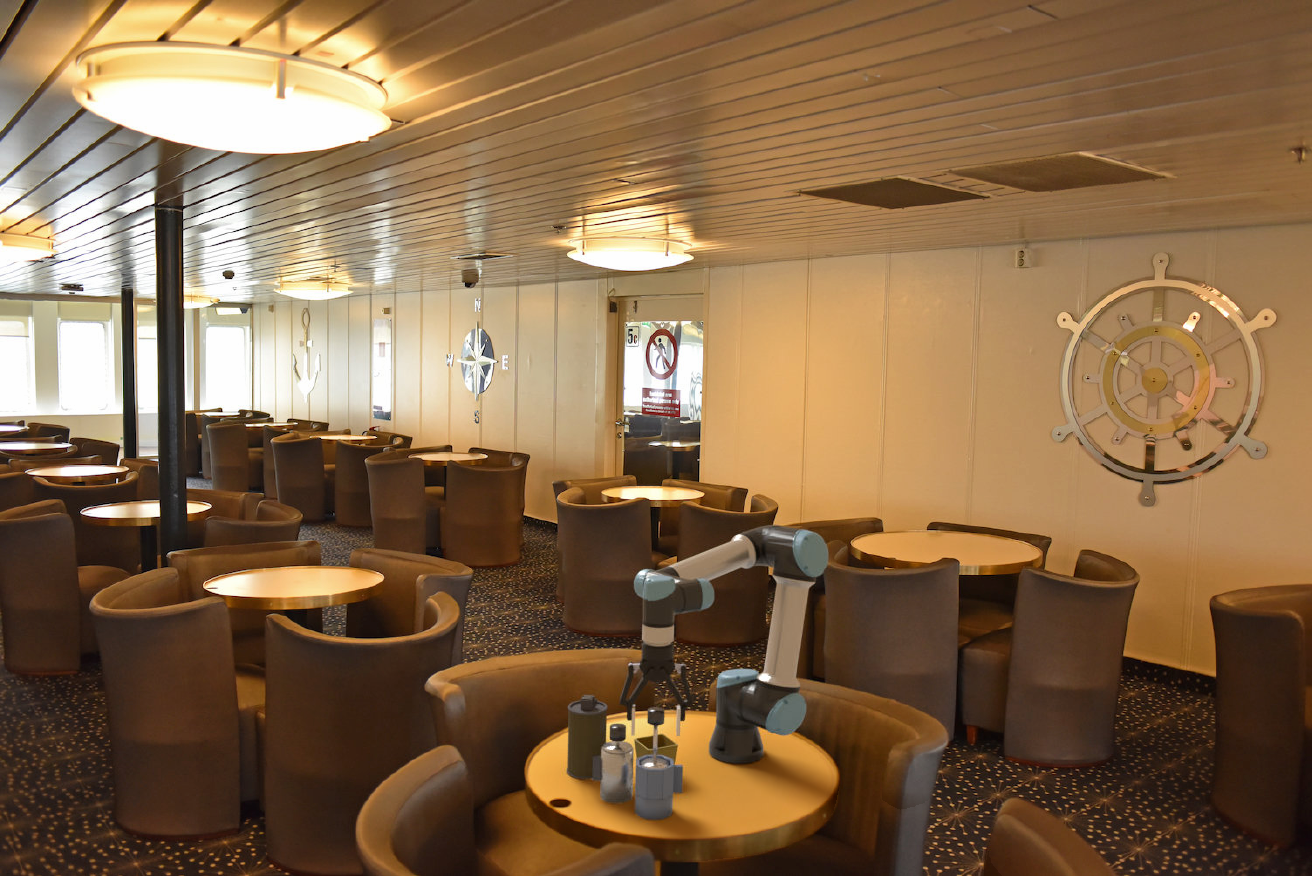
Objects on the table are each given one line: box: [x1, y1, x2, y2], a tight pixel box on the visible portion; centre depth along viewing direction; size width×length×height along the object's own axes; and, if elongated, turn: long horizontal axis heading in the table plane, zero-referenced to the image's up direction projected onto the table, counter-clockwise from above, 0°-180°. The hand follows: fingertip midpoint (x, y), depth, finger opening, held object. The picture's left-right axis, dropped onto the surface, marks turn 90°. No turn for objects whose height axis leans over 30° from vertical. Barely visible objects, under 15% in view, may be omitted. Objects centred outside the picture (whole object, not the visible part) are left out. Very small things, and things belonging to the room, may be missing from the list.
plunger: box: [641, 706, 669, 769], centre depth 224 cm, size 7×7×14 cm
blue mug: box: [634, 755, 684, 821], centre depth 225 cm, size 11×9×12 cm
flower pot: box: [633, 733, 679, 765], centre depth 246 cm, size 9×9×9 cm
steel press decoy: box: [591, 723, 635, 804], centre depth 233 cm, size 10×8×18 cm
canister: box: [566, 694, 608, 780], centre depth 247 cm, size 11×10×20 cm
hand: (655, 733), depth 224 cm, fingers open, 10 cm apart
